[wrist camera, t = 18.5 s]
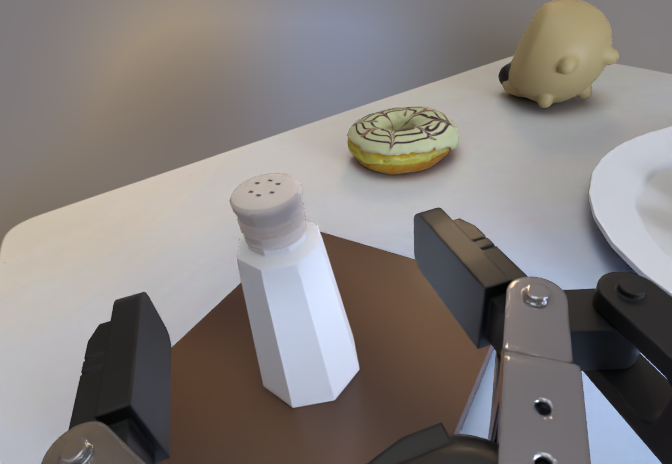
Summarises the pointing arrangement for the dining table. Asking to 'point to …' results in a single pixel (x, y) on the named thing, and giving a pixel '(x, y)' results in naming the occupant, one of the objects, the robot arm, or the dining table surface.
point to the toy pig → (560, 53)
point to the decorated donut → (402, 139)
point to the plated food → (637, 204)
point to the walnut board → (356, 398)
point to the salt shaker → (291, 294)
